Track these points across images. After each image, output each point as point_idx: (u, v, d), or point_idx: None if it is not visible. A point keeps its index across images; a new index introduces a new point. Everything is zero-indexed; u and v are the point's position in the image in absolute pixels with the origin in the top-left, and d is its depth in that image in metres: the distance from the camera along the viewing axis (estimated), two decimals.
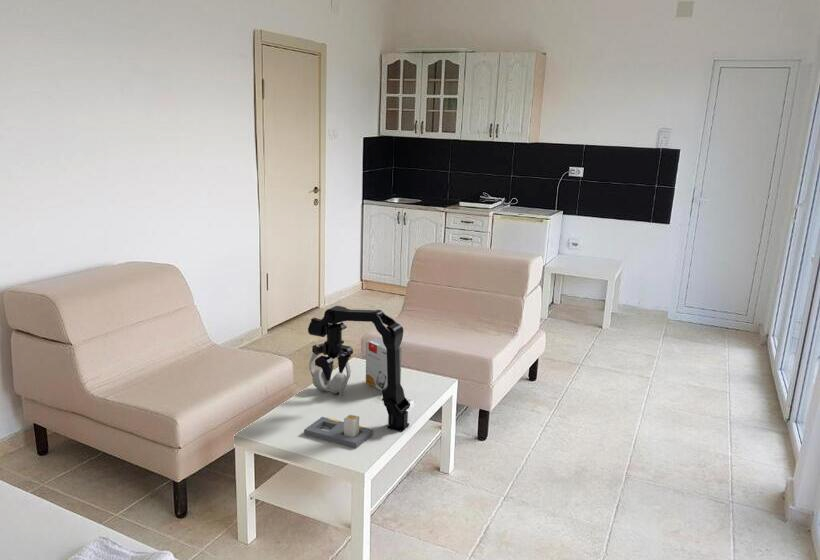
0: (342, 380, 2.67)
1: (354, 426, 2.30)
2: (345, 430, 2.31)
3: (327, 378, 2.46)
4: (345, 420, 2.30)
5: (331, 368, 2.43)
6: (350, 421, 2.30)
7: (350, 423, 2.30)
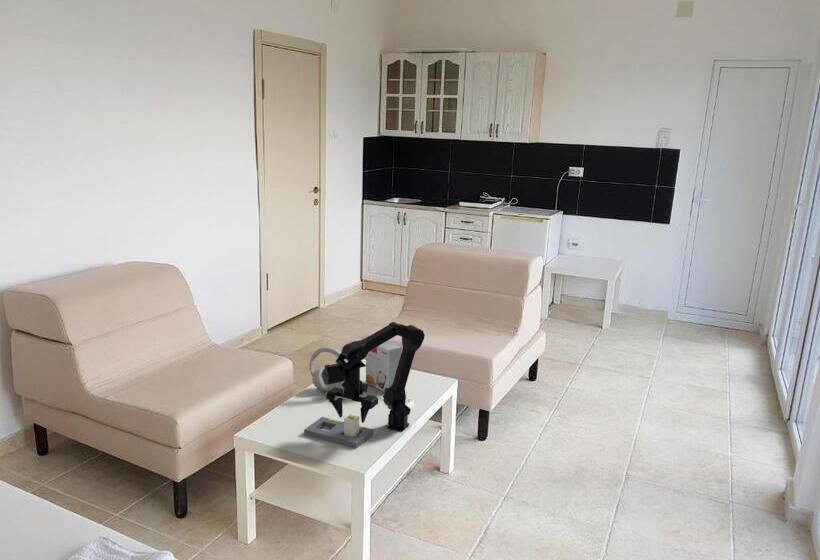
0: None
1: (354, 426, 2.30)
2: (345, 430, 2.31)
3: None
4: (345, 420, 2.31)
5: (332, 403, 2.31)
6: (350, 421, 2.30)
7: (350, 423, 2.30)
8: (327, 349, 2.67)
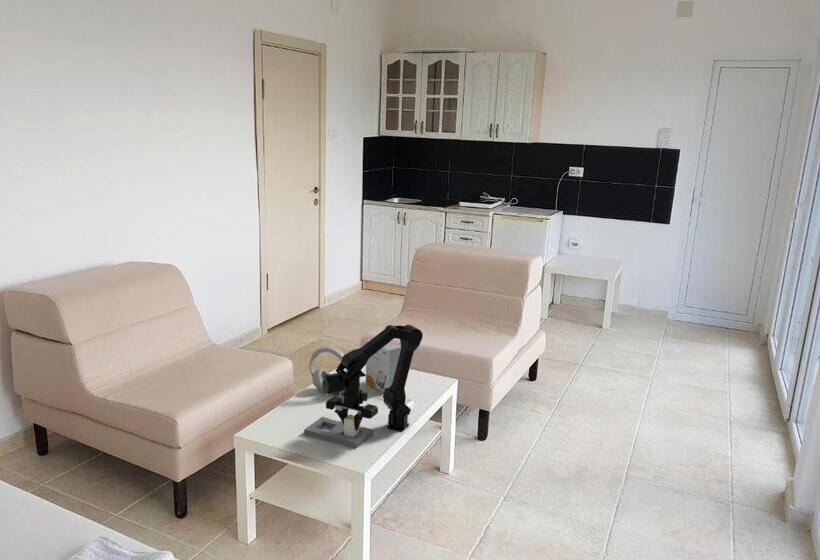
0: None
1: (354, 426, 2.30)
2: (345, 430, 2.31)
3: None
4: (345, 420, 2.30)
5: (338, 414, 2.30)
6: (350, 421, 2.30)
7: (350, 423, 2.30)
8: (327, 349, 2.67)
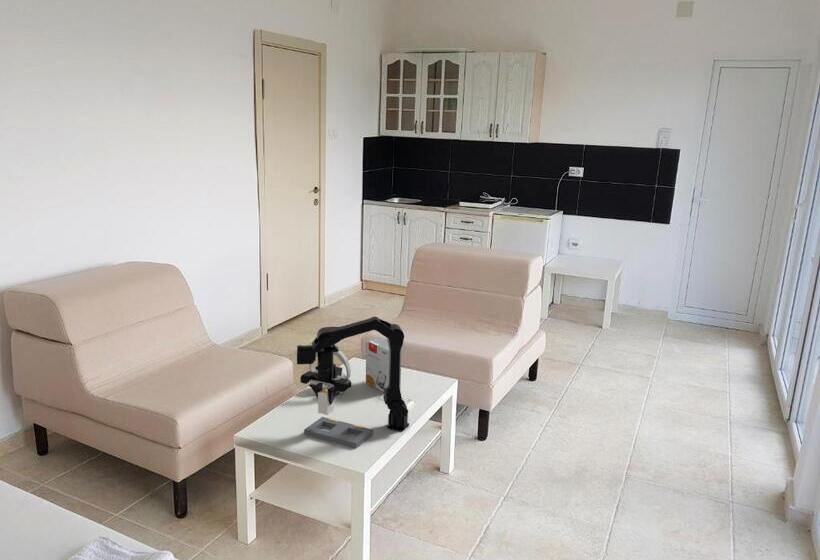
0: None
1: (328, 400, 2.33)
2: (319, 404, 2.34)
3: None
4: (319, 394, 2.33)
5: (312, 388, 2.33)
6: (324, 394, 2.32)
7: (324, 396, 2.32)
8: None
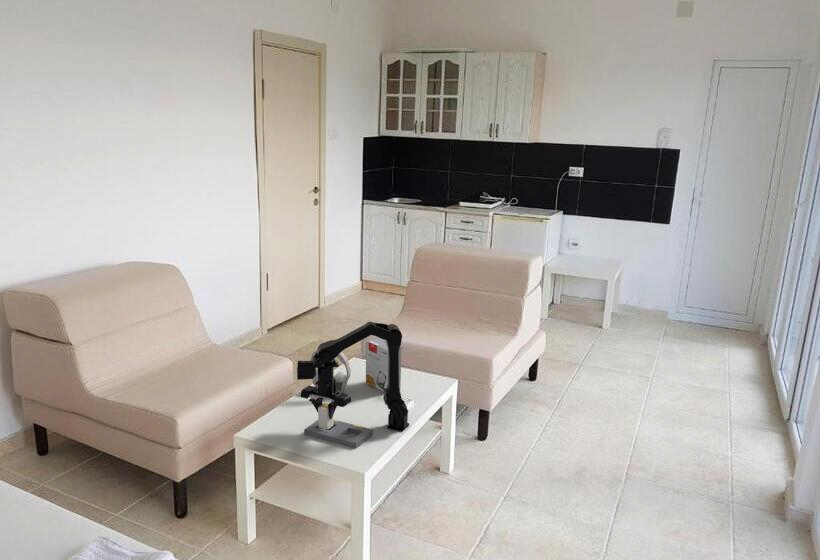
0: (342, 380, 2.67)
1: (328, 415, 2.34)
2: (319, 419, 2.35)
3: None
4: (319, 409, 2.35)
5: (312, 402, 2.34)
6: (324, 409, 2.34)
7: (324, 411, 2.34)
8: None
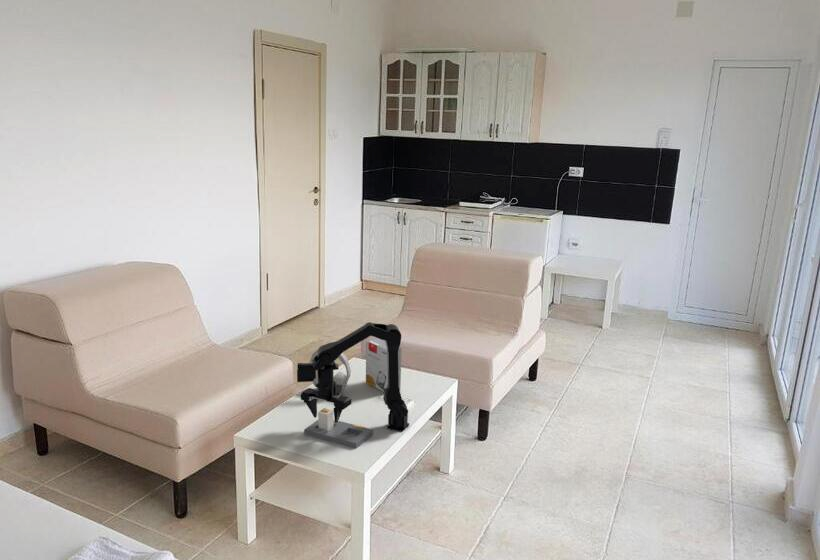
0: (342, 380, 2.67)
1: (328, 420, 2.34)
2: (319, 424, 2.36)
3: None
4: (319, 414, 2.35)
5: (307, 403, 2.36)
6: (324, 414, 2.34)
7: (324, 416, 2.34)
8: None
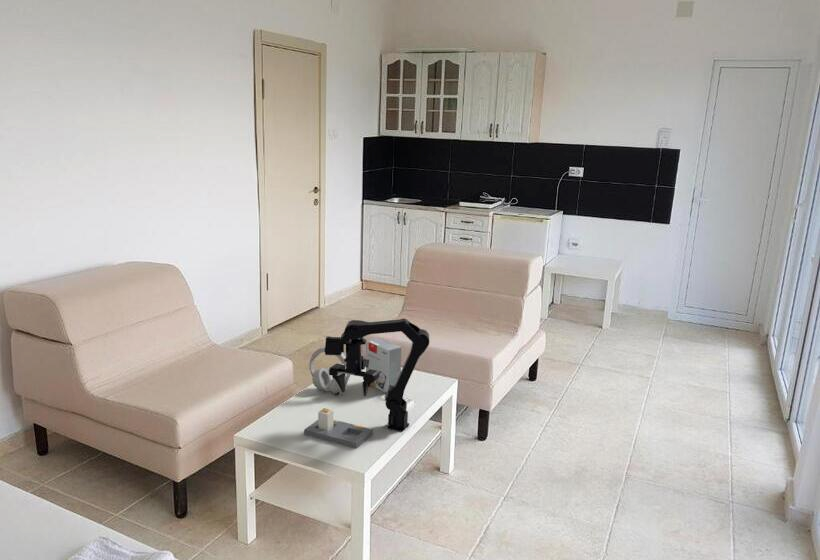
0: None
1: (328, 420, 2.34)
2: (319, 424, 2.36)
3: None
4: (319, 414, 2.35)
5: (335, 378, 2.39)
6: (324, 414, 2.34)
7: (324, 416, 2.34)
8: None
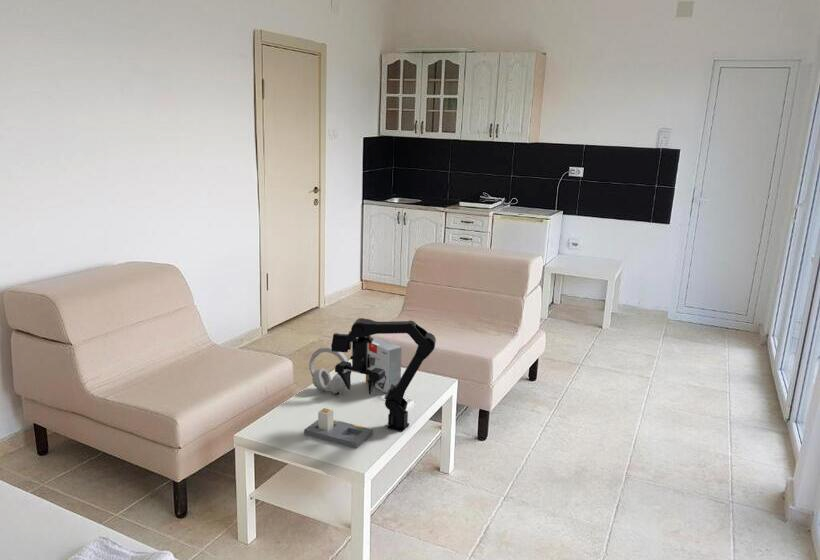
0: (342, 380, 2.67)
1: (328, 420, 2.34)
2: (319, 424, 2.36)
3: None
4: (319, 414, 2.35)
5: (341, 376, 2.40)
6: (324, 414, 2.34)
7: (324, 416, 2.34)
8: (327, 349, 2.67)
